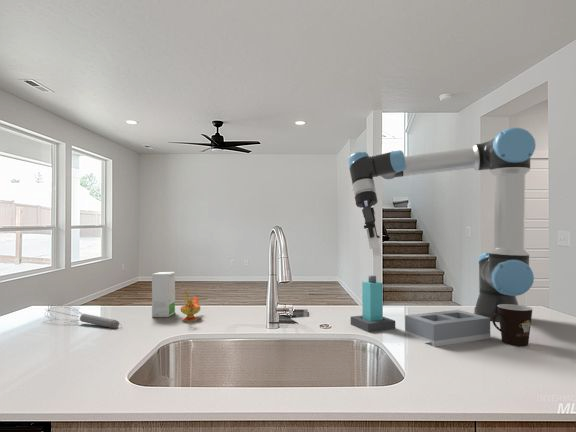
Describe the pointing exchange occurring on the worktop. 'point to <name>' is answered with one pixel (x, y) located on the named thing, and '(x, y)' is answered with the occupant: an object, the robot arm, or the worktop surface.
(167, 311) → the skincare box
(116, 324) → the kitchen whisk
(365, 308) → the plug
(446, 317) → the block
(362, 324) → the frame
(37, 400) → the worktop surface
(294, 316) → the handgun
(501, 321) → the coffee mug
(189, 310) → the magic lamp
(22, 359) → the worktop surface
